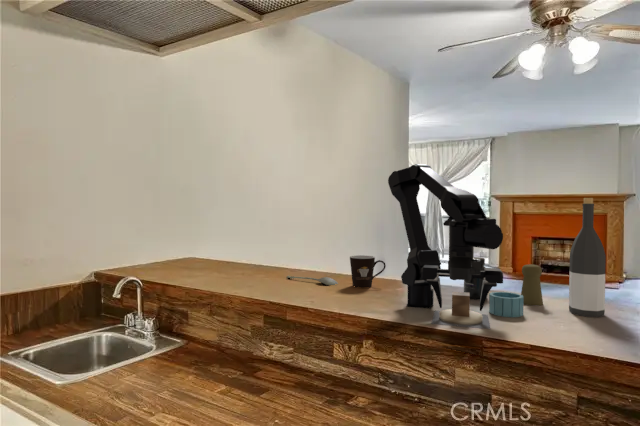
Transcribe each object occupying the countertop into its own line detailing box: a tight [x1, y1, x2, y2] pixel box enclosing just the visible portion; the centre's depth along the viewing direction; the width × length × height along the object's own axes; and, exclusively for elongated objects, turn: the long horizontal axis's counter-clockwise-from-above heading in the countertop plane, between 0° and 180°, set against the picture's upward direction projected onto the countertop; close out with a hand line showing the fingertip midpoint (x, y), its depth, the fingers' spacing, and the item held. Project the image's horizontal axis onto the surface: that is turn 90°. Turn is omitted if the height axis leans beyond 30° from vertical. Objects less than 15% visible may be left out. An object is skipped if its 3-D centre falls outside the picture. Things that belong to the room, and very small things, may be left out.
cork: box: [520, 263, 544, 306], centre depth 126 cm, size 6×6×11 cm
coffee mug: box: [349, 254, 386, 288], centre depth 150 cm, size 12×9×10 cm
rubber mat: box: [430, 310, 491, 330], centre depth 108 cm, size 13×13×1 cm
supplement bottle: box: [463, 256, 488, 300], centre depth 134 cm, size 7×7×12 cm
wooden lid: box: [439, 291, 483, 325], centre depth 107 cm, size 10×10×6 cm
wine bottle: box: [568, 197, 607, 318], centre depth 115 cm, size 8×8×30 cm
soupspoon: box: [286, 275, 339, 286], centre depth 159 cm, size 22×3×7 cm
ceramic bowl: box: [488, 291, 525, 318], centre depth 114 cm, size 8×8×5 cm
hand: (460, 309), depth 108 cm, fingers open, 9 cm apart
